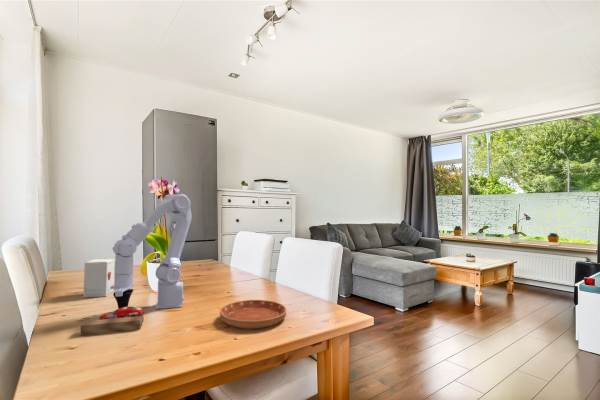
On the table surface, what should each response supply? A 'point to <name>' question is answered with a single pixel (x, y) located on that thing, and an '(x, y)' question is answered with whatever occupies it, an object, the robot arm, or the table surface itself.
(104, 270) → the supplement box
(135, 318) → the chock stand
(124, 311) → the race car
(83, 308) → the table surface
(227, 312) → the saucer
